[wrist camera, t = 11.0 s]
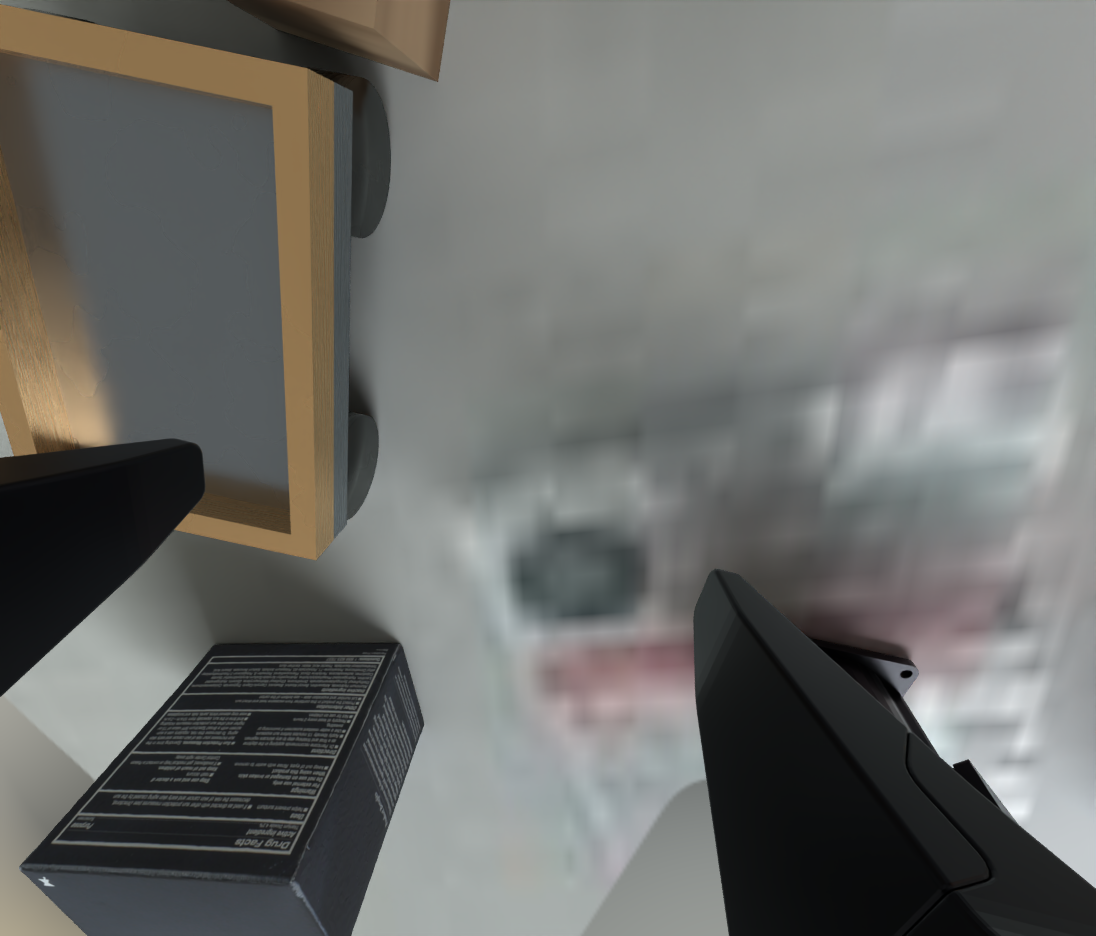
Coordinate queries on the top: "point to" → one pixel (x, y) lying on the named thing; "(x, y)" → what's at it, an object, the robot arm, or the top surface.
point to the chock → (365, 28)
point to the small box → (243, 799)
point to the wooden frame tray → (188, 266)
